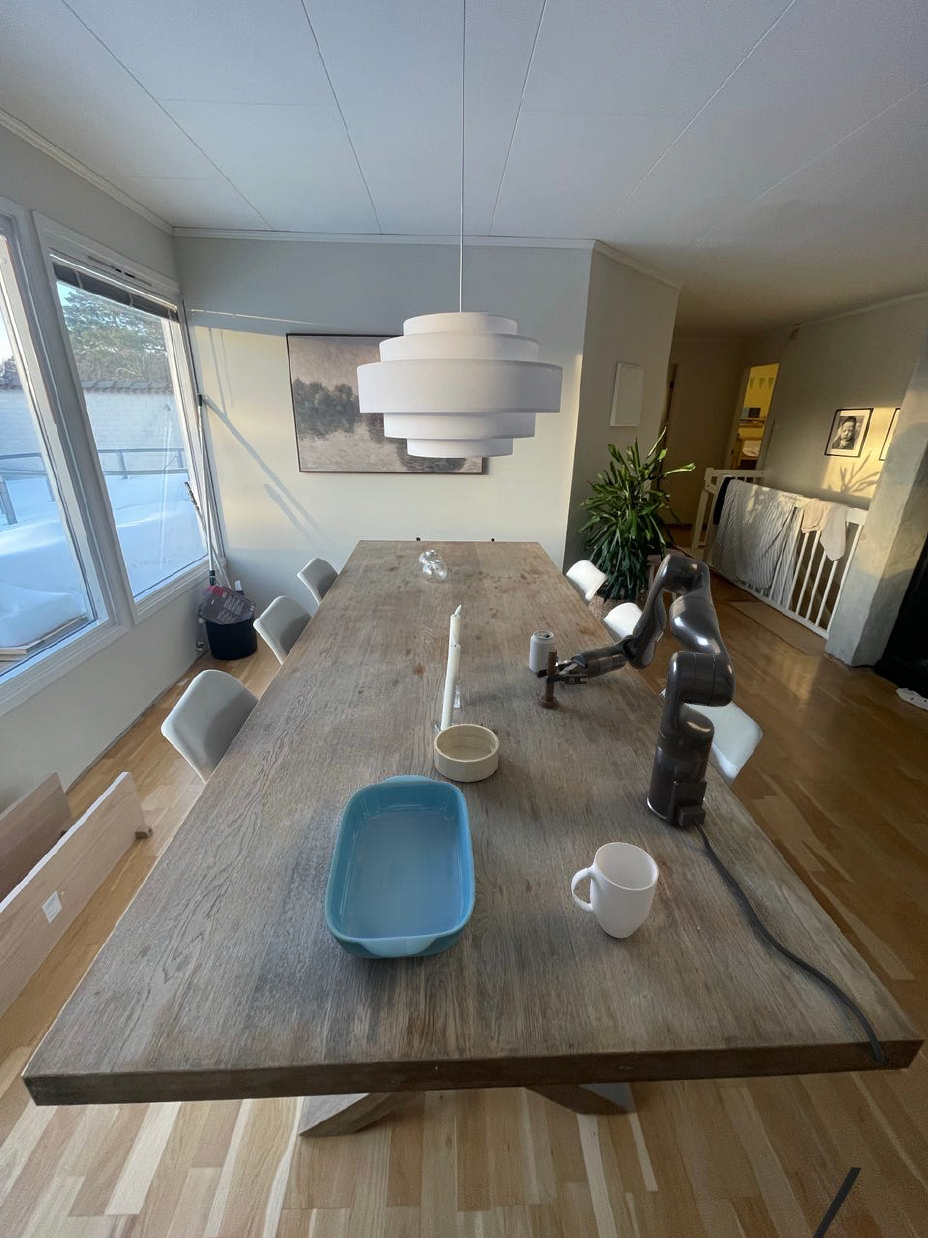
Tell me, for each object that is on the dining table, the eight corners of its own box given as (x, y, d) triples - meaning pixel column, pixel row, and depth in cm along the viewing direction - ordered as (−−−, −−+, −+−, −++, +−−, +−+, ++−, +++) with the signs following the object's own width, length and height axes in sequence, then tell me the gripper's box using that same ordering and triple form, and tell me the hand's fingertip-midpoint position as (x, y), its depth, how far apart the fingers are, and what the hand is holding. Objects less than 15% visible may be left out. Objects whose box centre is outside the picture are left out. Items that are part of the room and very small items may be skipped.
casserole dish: (351, 804, 102) (349, 774, 99) (463, 798, 104) (464, 769, 101) (315, 998, 68) (309, 960, 65) (483, 986, 69) (484, 949, 67)
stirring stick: (558, 707, 137) (563, 653, 131) (543, 708, 136) (547, 654, 131) (553, 699, 141) (558, 646, 135) (538, 700, 140) (541, 647, 135)
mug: (638, 900, 82) (648, 841, 78) (655, 953, 74) (667, 891, 69) (564, 897, 82) (570, 839, 78) (573, 950, 74) (580, 888, 70)
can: (553, 676, 154) (555, 639, 149) (527, 674, 155) (530, 637, 151) (554, 665, 160) (556, 630, 156) (529, 663, 162) (532, 628, 157)
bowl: (504, 780, 109) (505, 758, 107) (438, 786, 107) (437, 764, 105) (491, 741, 122) (491, 721, 120) (431, 746, 120) (431, 726, 118)
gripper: (576, 642, 146) (526, 654, 139) (611, 661, 135) (559, 675, 127) (574, 665, 149) (525, 678, 141) (608, 686, 138) (557, 702, 130)
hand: (542, 677), depth 134 cm, fingers open, 3 cm apart
